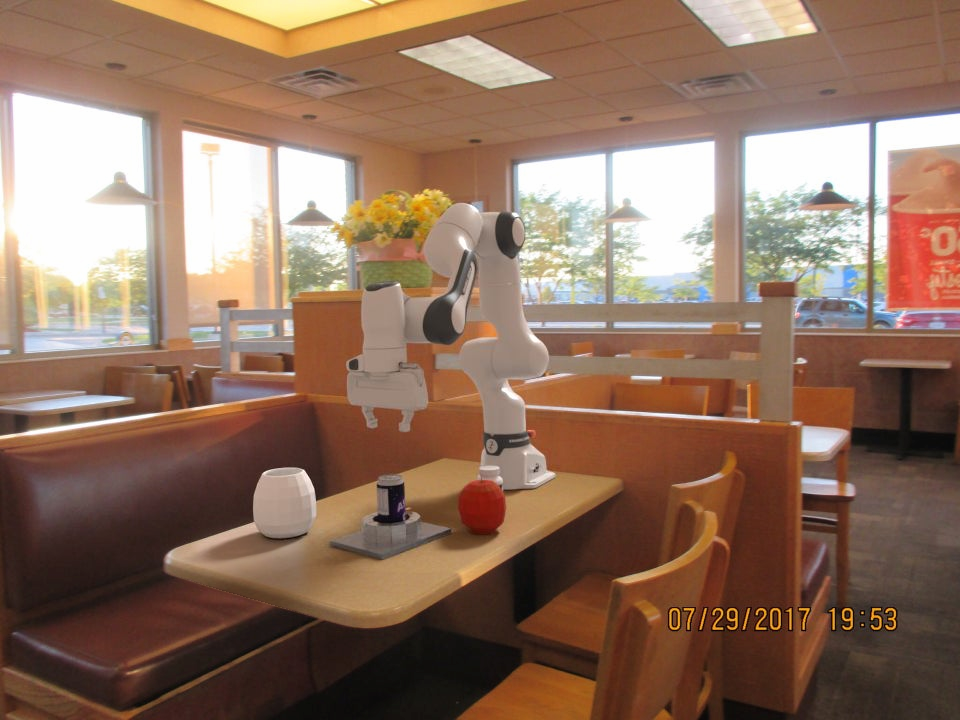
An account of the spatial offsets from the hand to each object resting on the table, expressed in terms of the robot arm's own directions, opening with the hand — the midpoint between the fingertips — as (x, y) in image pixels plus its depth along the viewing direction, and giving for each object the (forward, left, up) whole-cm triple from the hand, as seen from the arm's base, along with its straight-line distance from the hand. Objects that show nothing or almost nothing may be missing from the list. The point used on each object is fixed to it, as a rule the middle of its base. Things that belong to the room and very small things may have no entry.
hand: (388, 429), depth 154 cm
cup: (+10, -22, -23) cm, 33 cm away
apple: (-15, +12, -23) cm, 30 cm away
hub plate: (0, 0, -23) cm, 23 cm away
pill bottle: (-25, +6, -23) cm, 34 cm away
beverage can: (0, 0, -22) cm, 22 cm away
